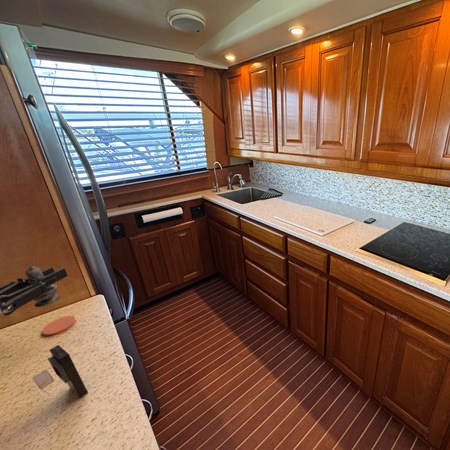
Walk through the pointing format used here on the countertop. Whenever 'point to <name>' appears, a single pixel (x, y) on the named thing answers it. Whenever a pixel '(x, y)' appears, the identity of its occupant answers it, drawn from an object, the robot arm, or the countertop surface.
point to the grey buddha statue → (49, 296)
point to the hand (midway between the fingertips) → (58, 271)
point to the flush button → (43, 379)
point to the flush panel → (67, 370)
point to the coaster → (59, 325)
